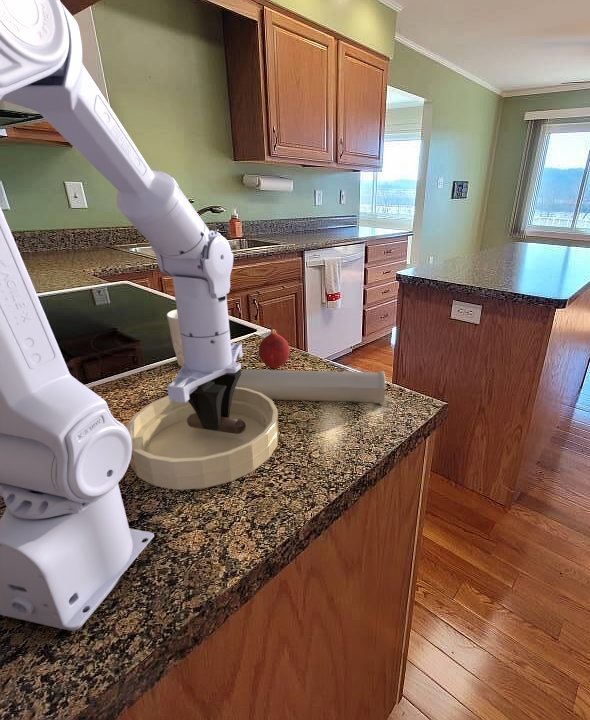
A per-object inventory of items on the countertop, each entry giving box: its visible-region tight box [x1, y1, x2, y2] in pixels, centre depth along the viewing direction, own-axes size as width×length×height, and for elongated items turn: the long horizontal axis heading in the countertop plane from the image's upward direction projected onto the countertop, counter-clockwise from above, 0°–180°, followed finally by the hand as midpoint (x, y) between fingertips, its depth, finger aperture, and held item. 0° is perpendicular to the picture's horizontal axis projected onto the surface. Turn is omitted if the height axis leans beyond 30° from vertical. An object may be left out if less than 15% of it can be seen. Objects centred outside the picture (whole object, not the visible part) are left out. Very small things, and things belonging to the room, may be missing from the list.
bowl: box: [125, 387, 280, 491], centre depth 52 cm, size 18×18×4 cm
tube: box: [236, 368, 386, 406], centre depth 66 cm, size 5×5×25 cm
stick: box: [187, 413, 246, 434], centre depth 54 cm, size 8×2×2 cm, turn 80°
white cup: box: [166, 308, 184, 368], centre depth 76 cm, size 8×8×10 cm
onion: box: [258, 328, 291, 370], centre depth 76 cm, size 6×6×8 cm
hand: (216, 423), depth 54 cm, fingers closed on stick, 2 cm apart
